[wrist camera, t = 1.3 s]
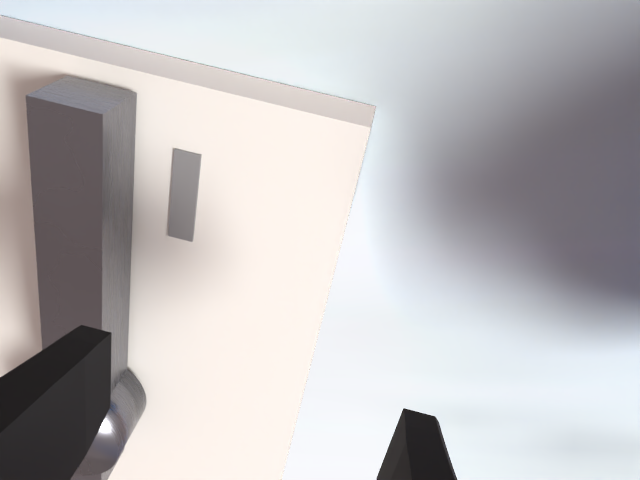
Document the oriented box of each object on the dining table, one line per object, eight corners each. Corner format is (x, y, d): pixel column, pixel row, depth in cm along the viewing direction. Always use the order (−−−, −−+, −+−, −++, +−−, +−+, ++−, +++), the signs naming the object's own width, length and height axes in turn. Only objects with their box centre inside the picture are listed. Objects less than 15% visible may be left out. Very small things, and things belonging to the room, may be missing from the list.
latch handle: (143, 454, 24) (116, 506, 22) (58, 431, 24) (24, 480, 22) (164, 99, 16) (126, 127, 14) (40, 68, 16) (-16, 91, 14)
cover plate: (277, 494, 27) (267, 535, 26) (-107, 392, 28) (-144, 425, 26) (375, 106, 18) (370, 128, 16) (-216, -37, 18) (-286, -31, 16)
